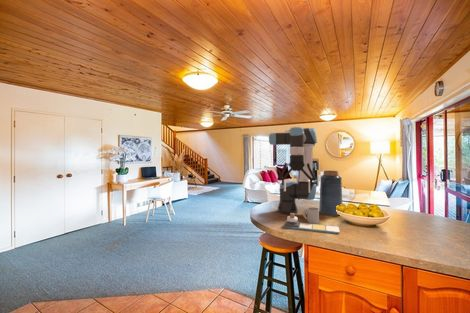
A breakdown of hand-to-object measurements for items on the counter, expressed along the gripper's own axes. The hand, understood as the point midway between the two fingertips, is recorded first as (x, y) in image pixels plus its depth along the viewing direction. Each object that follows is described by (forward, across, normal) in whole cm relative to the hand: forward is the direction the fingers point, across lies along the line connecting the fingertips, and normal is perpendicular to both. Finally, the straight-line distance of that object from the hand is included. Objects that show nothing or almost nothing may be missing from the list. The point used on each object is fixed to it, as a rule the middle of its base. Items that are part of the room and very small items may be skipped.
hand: (296, 191), depth 126 cm
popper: (+20, -4, +10) cm, 23 cm away
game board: (+24, +7, +10) cm, 27 cm away
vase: (+24, +20, +49) cm, 58 cm away
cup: (+24, +7, +22) cm, 34 cm away
